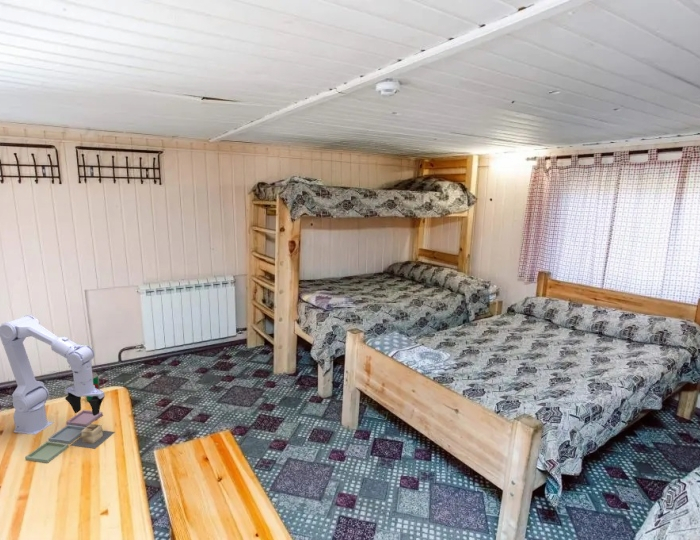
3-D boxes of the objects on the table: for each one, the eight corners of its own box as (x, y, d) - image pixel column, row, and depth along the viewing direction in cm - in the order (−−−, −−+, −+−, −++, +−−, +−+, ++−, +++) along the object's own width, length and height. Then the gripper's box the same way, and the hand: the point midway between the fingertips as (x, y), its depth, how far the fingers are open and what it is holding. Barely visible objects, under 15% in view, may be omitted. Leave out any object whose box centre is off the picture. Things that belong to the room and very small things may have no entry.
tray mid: (48, 442, 144) (48, 438, 144) (68, 428, 152) (67, 424, 152) (69, 444, 143) (69, 441, 143) (88, 430, 151) (87, 427, 151)
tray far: (66, 425, 154) (66, 421, 154) (83, 413, 162) (83, 409, 162) (86, 427, 153) (86, 424, 152) (102, 415, 161) (102, 412, 161)
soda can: (103, 397, 174) (100, 372, 172) (94, 403, 169) (92, 377, 167) (92, 396, 175) (89, 371, 172) (83, 402, 170) (81, 376, 167)
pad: (70, 446, 142) (69, 445, 142) (91, 429, 152) (91, 428, 152) (95, 449, 141) (95, 448, 141) (115, 432, 151) (115, 431, 150)
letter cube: (82, 442, 144) (81, 430, 143) (91, 434, 148) (90, 423, 147) (93, 443, 144) (92, 432, 143) (102, 435, 148) (101, 425, 147)
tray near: (25, 460, 134) (25, 457, 134) (47, 445, 142) (47, 441, 142) (48, 464, 133) (47, 460, 133) (68, 447, 141) (68, 444, 141)
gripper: (109, 376, 147) (112, 409, 150) (74, 372, 149) (78, 404, 152) (94, 385, 140) (98, 420, 143) (58, 381, 142) (62, 415, 145)
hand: (86, 412), depth 147 cm, fingers open, 7 cm apart
